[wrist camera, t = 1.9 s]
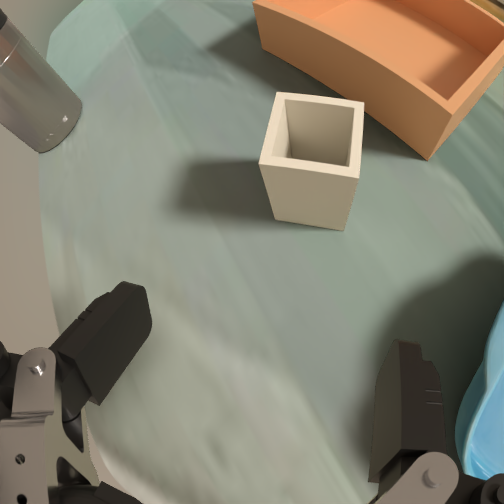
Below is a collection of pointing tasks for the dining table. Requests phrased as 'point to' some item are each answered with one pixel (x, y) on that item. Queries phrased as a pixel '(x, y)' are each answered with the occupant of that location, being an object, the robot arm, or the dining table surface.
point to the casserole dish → (484, 411)
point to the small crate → (312, 158)
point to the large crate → (392, 57)
